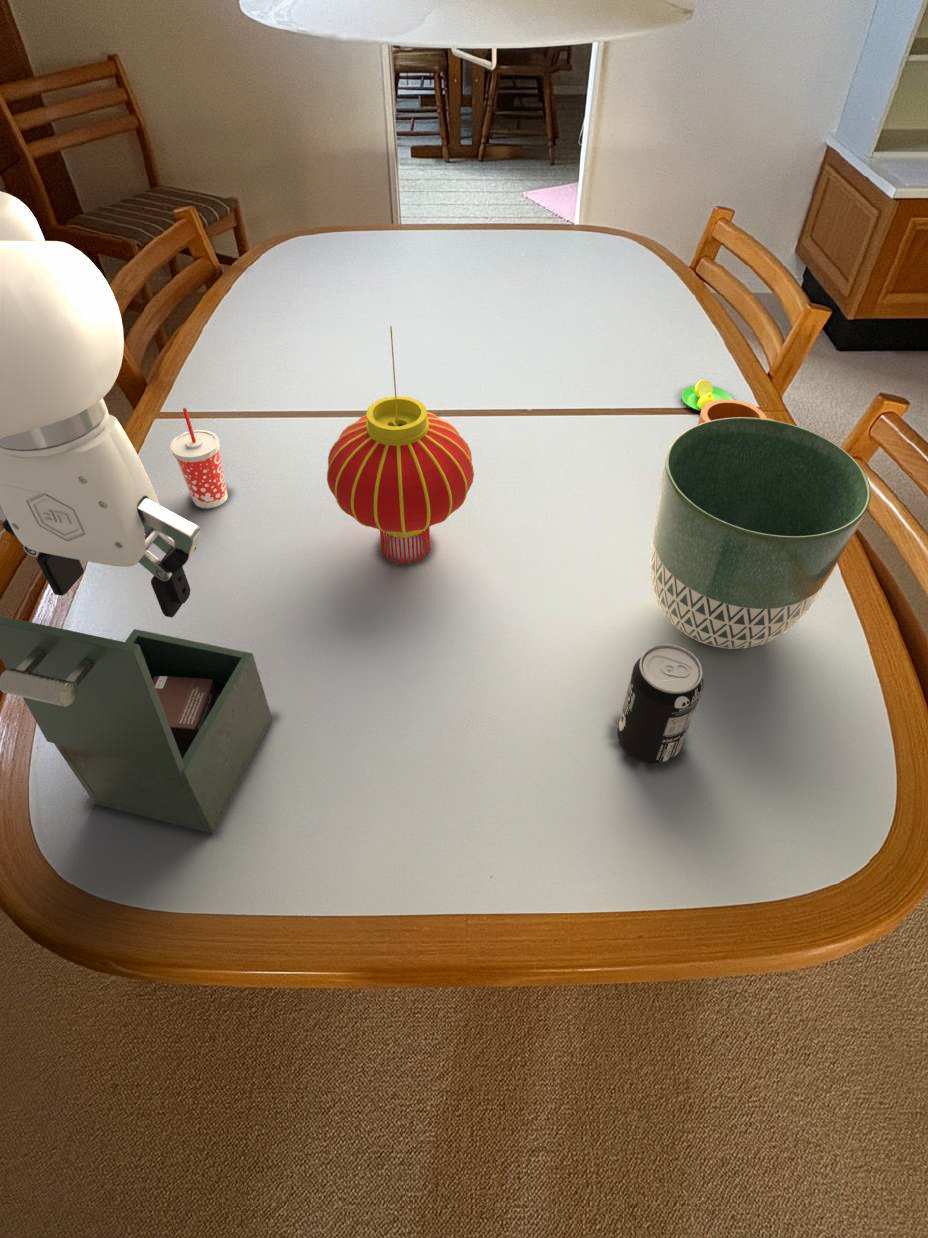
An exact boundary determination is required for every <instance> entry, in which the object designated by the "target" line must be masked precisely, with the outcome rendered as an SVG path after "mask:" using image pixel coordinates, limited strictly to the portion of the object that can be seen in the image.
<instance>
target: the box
mask: <svg viewBox="0 0 928 1238" xmlns="http://www.w3.org/2000/svg"><path fill="white" fill-rule="evenodd" d="M153 683H154V686H155V689H156V691H157V694H158V697H159V699H160V702H161V704H162V707H163V710H164V712H165V715H166V718H167V720H168V723H169V726H170V728H171V731H172V734H173V736H174V739H175V742H176V744H177V747H178V750H179V752H180V755H181V758H182V759H183V757H184V756H185V754H186V752H187V750H188V749H189V747H190V745H191V744H192V742H193V740H194V738H195V737H196V735H197V733H198V732H199V730H200V728H201V726H202V725H203V723H204V721H205V720H206V718H207V716H208V714H209V713H210V711H211V709H212V708H213V706H214V704H215V702H216V701H217V699H218V697H219V695H218V692H217V690H216V688H215V685H214V682H213V680H212V679H198V678H181V677H168V676H155V677H154V679H153Z"/></svg>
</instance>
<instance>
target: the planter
mask: <svg viewBox="0 0 928 1238" xmlns="http://www.w3.org/2000/svg"><path fill="white" fill-rule="evenodd" d="M774 420H775V419H773V420H769V419H761V418H747V417H737V418H724V419H717V420H712V421H708V422H705V423H702V424H699V425H698V424H696V425H694V426H692V427H690V428H688V429H687V430H685V431H683V432H682V433H680V435H678V436H677V437H676V438H675V439H674V440H673V442H671V444H670V446H669V448H668V450H667V451H666V456H665V460H664V465H663V471H662V475H661V481H660V488H659V496H658V501H657V507H656V512H655V518H654V525H653V533H652V538H651V545H650V552H649V575H650V577H649V578H650V584H651V588H652V592H653V595H654V598H655V600H656V603H657V605H658V607H659V608H660V611H661V612H662V613H663V615H664V616H665V617H666V619H667V620H668V621H669V622H670V623H671V624H672V625H673V626H674V627H675V628H676V629H678V630H679V631H680V632H681V633H683V634H684V635H685V636H687V637H689V638H690V639H693V640H695V641H697V642H698V643H702V644H704V645H707V646H709V647H715V648H720V649H729V650H733V649H734V650H735V649H738V650H739V649H748V648H753V647H758V646H761V645H765V644H767V643H770V642H772V641H774V640H776V639H778V638H779V637H781V636H782V635H784V634H785V633H787V632H789V631H790V630H791V629H792V628H793V627H794V626H795V625H796V624H798V622H799V621H800V620H802V618H803V617H804V616H805V615H806V614H807V613H808V611H809V610H810V609H811V608H812V606H813V605H814V603H815V602H816V600H817V599H818V597H819V595H820V593H821V592H822V590H823V588H824V586H825V585H826V583H827V581H828V580H829V578H830V577H831V575H832V573H833V571H834V570H835V568H836V566H837V564H838V563H839V560H840V559H841V557H842V555H843V554H844V552H845V550H846V548H847V546H848V545H849V543H850V542H851V540H852V538H853V536H854V535H855V533H856V532H857V530H858V528H859V527H860V524H861V523H862V521H863V519H864V517H865V515H866V513H867V510H868V509H869V506H870V504H871V499H872V489H871V484H870V481H869V479H868V476H867V474H866V472H865V471H864V470H863V468H862V467H861V465H860V464H859V463H858V462H857V460H856V459H855V458H854V457H853V456H851V455H850V453H848V452H847V451H846V450H845V449H844V448H842V447H841V446H839V445H838V444H836V443H835V442H833V441H832V440H831V439H829V438H826V437H824V436H822V435H821V434H818V433H816V432H814V431H811V430H809V429H807V428H803V427H801V426H798V425H795V424H791V423H787V422H783V421H779V420H775V421H774Z"/></svg>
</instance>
